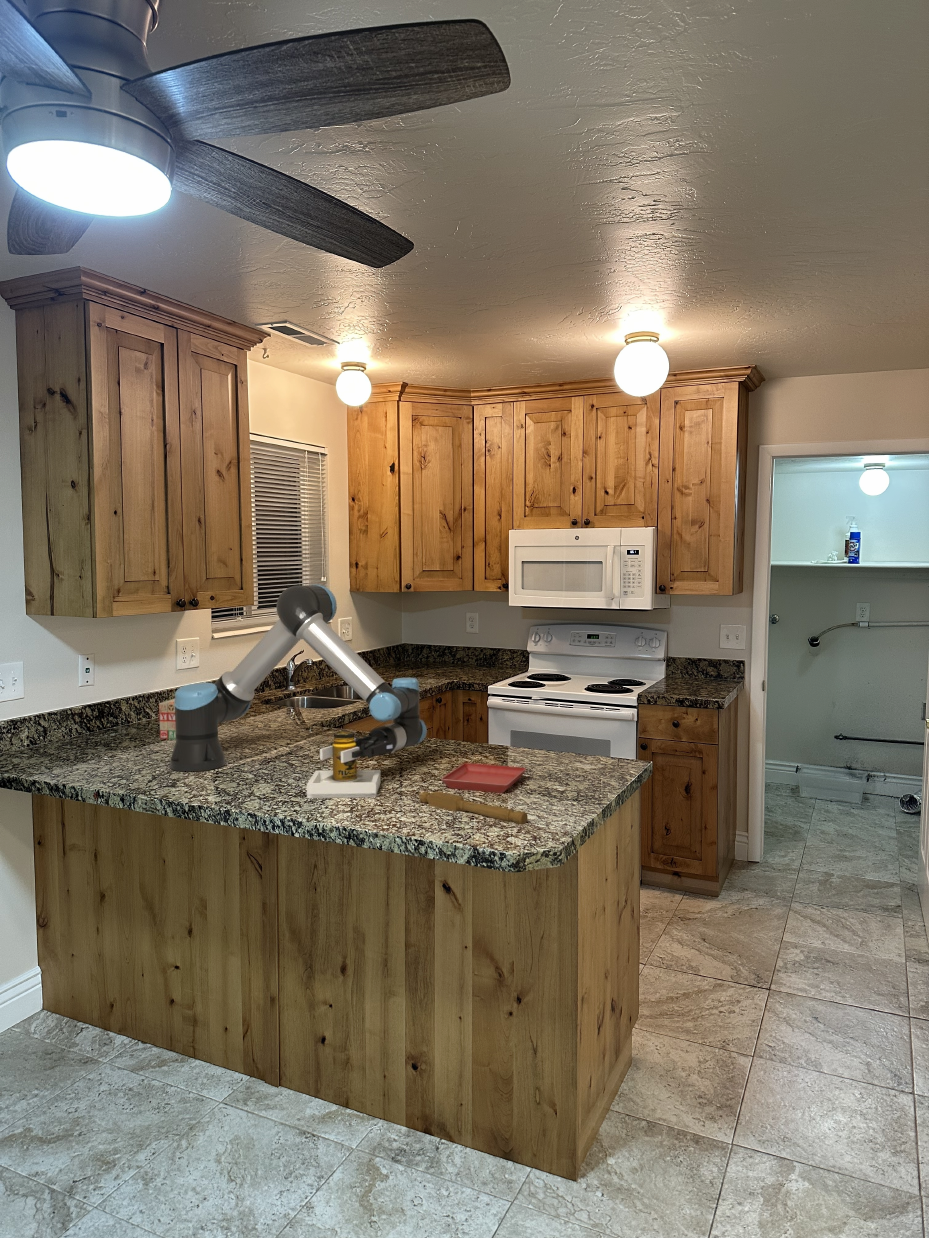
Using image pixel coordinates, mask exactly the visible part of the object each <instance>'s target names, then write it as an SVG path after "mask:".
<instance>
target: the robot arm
mask: <svg viewBox="0 0 929 1238" xmlns="http://www.w3.org/2000/svg"><path fill="white" fill-rule="evenodd" d="M337 605H338V604H337V599H336V597H335V595H334V593H333V592H332V591H331V590H330V589H329V588H328V587H326V586H324V585H319V584H309V585H307V584H306V585H293V586H290V587H288V588H286V589H284V590H283V591H282V592H281V594H279V597H278V598H277V601H276V613H277V616H278V620H277V621H276V622H275V623H274V624H273V626H272V627H270V629H269V630H268V631H267V632H266V633H265V634H264V636H262V637H261V639H260V640H259V641H258V642H257V644H255V645H254V646H253V648H251V650H250V651H249V652H248V653H247V654H246V656H244V657H243V659H242V660H241V661H240V662H239V664H237V666H235V668H234V669H232V671H228V670H227V671H224V672H223V674H221V676H220V677H219V678H217V680H216V681H215V682H214V683H212V682H195V683H193V684H192V683H190V684H186V685H182V686H181V687H179V688H178V689H177V690H176V691H175V693H174V694H175V695H174V699H175V702H174V705H175V723H176V739H175V744H174V747H173V750H172V753H171V757H170V760H169V764H170V765H169V768H170V770H172V771H176V772H184V771H186V772H191V771H192V772H193V771H194V772H203V771H204V772H205V771H210V770H215V769H218V768H219V769H220V768H221V767H223V766H225V765H226V757H225V753H224V751H223V750H224V749H223V747H222V745H221V742H220V740H219V725H220V724H223V723H226V722H230V721H234V720H237V719H239V718H241V717H243V716H244V715H245V714H246V713H247V711H249V709H250V707H251V704H252V700H253V699H254V698H255V690H256V689H257V687H258V686H259V685H260V684H261V683H262V682H263V681H264V680H265V678H266V677H268V675H269V674H271V672H272V671H273V670H274V669H275V668H276V667H277V666H278V665H279V663H280V662H281V661H282V660H284V658H285V657H286V656H287V655H288V654H289V653H290V652H291V650H292V649H293V648H294V647H295V646H296V645H297V644H298V643H299V642H300V640H303V641H304V642H305V643H306V644H307V645H308V646H309V647H310V648H311V649H312V650H313V651H314V652H315V653H316V654H317V655H318V656H319V657H320V658H321V659H322V660H323V661H325V663H326V664H327V665H328V666H329V667H330V668H331V669H333V670H334V672H335V673H336V674H337V675H338V676H339V677H340V678H341V679H342V680H344V682H346V684H347V685H348V686H349V687H351V689H352V690H354V691H355V693H356V694H357V695H359V697H360V698H362V700H364V701H365V702H366V703H367V705H368V707H369V708H368V709H369V712H370V714H371V716H372V718H373V719H374V720H376V721H377V722H378V721H379V722H382V723H384V722H389V721H392V722H393V723H388V724H385V725H382V726H377V727H375V728H373V729H371V730H370V732H369V733H368V734H367V735H364V736H363V737H357V736H354V738H355V741H354V742H355V743H356V747H355V748H352V749H348V750H345V751H342V752H341V763H344V762H348V761H351V760H354V759H360V758H363V759H364V758H366V757H367V758H369V759H372V758H374V757H377V756H384V755H388V754H395V752H396V751H399V750H402V749H405V748H409V747H413V746H416V745H417V744H420V743H422V742H423V741H424V740H425V738H426V736H427V733H428V731H427V726H426V723H425V722H424V720H423V719H421V716H420V692H421V690H420V685H419V683H420V682H419V680H418V679H417V678H415V677H398V678H394V679H393V680H392V686H390V685H389V684H388V683H387V682H386V681H385V680H384V679H383V678H382V677H381V676H380V675H379V674H378V673H377V672H376V670H374V669H373V668H372V667H371V666H370V665H369V664H368V663H367V662H366V661H365V660H364V659H363V658H362V657H361V656H360V655H359V654H358V653H357V652H356V651H355V650H354V649H353V648H352V647H351V646H350V645H349V644H348V643H346V641H345V640H344V639H343V638H342V637H341V636H340V635H339V634H338V633H337V632H336V631H335V630H334V629H333V628H332V627H331V626H329V624H328V623H329V622H331V621H332V620H333V619H334V617H335V615H336V613H337V611H338V610H337V609H338V606H337ZM356 737H357V738H356ZM333 743H334V741H332V742H330V744H329V745H330V746H326V747H322V748H320V749H319V759H320V761H323V760H326V759H327V760H328V759H330V758H333V751H332V750H333V748H332V747H333ZM186 772H185V773H186ZM192 772H191V773H192Z"/></svg>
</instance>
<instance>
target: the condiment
mask: <svg viewBox="0 0 929 1238" xmlns="http://www.w3.org/2000/svg"><path fill="white" fill-rule="evenodd" d="M354 737H355V733H354V732H353V731H349V730H347V731H346V730H344V731H343V730H341V731H337V732H334V733H333V742H334V743H333V747H332V748H333V750H332V751H333V757H332V770H333V775H331V776H329V777H327V778H324V779H322V780H324V781H334V782H353V781H355V780H357V779H359V778H361V777H362V776H357V770H358V768H357V767H358V764H357V763H358V760H357V759H358V758H357V759H354V760H351V761H348V762H344V763H341V752H342V751H345V750H348V749H352V748H355V747H356V743H355V742H354V741H355V738H354Z"/></svg>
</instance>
